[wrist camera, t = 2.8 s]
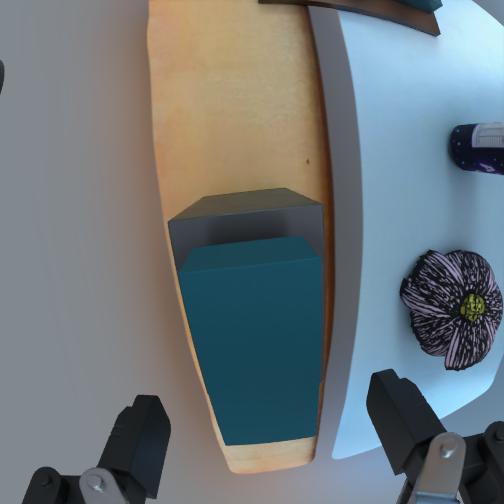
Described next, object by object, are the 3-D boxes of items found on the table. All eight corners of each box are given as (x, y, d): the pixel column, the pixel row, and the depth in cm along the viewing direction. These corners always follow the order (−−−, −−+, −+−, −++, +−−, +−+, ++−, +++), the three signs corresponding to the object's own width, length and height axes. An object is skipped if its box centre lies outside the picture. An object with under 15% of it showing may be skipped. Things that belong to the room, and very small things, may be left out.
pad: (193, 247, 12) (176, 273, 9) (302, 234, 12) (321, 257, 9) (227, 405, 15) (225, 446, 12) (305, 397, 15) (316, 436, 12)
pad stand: (202, 197, 26) (155, 229, 12) (285, 187, 26) (335, 209, 12) (220, 309, 30) (205, 416, 15) (293, 300, 30) (330, 402, 15)
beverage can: (446, 168, 26) (521, 177, 14) (443, 122, 24) (516, 115, 13) (474, 171, 26) (543, 182, 14) (472, 129, 24) (540, 128, 13)
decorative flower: (517, 230, 18) (522, 356, 18) (475, 228, 29) (487, 326, 29) (405, 271, 23) (420, 399, 23) (387, 257, 34) (405, 355, 34)
